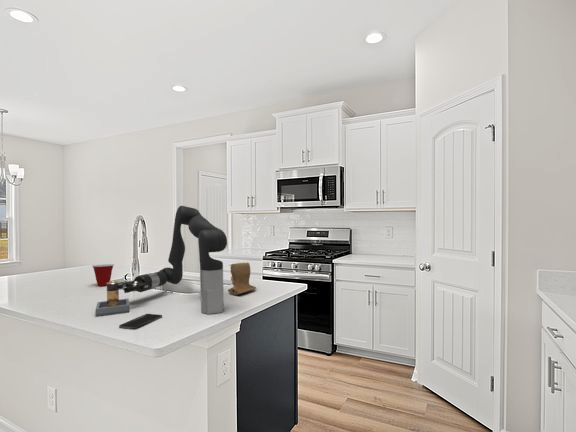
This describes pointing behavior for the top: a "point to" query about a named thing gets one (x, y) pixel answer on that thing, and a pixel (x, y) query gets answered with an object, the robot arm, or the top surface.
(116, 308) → the tray
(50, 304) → the top surface
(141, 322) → the phone
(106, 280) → the plastic cup
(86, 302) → the top surface
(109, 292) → the battery cell
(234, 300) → the top surface
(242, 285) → the brown boot
